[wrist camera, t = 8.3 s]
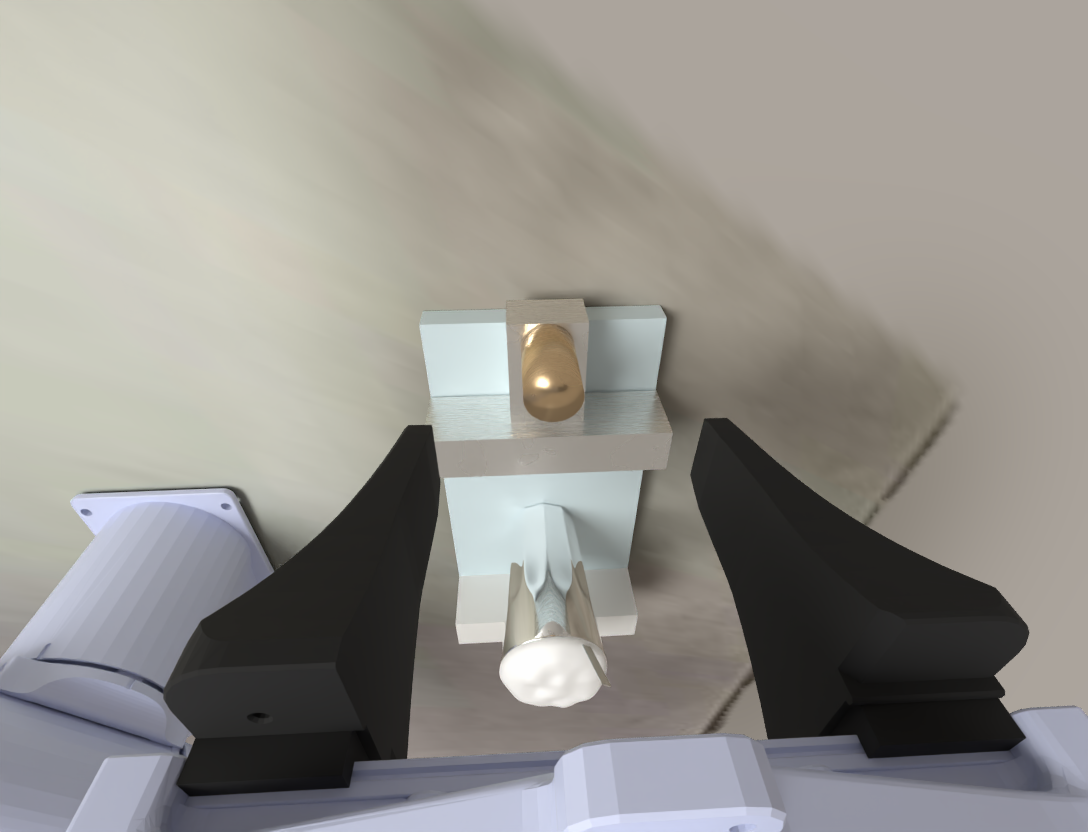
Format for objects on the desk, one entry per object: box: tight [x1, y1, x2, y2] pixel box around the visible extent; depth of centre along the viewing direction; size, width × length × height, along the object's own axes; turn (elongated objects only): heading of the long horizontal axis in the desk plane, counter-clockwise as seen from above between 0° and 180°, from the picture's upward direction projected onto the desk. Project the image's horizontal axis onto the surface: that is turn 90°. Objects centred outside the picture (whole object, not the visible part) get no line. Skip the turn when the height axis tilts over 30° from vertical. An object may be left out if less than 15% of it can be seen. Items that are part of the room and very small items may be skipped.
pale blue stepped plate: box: [419, 305, 667, 644], centre depth 26 cm, size 19×10×4 cm, turn 0°
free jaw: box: [425, 299, 673, 478], centre depth 21 cm, size 6×10×5 cm, turn 90°
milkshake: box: [499, 503, 611, 708], centre depth 25 cm, size 5×5×10 cm
